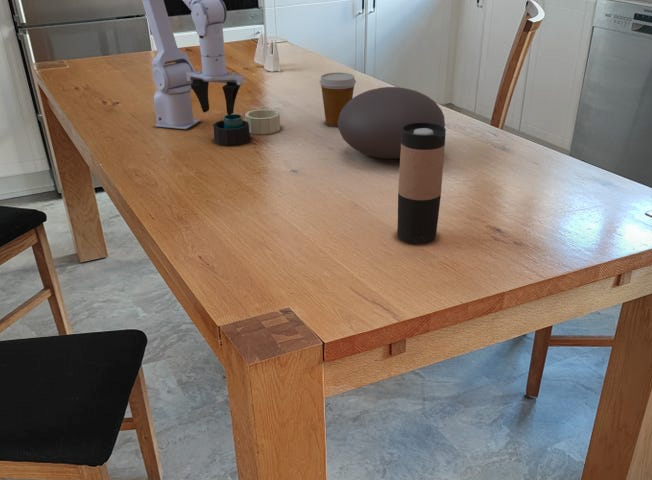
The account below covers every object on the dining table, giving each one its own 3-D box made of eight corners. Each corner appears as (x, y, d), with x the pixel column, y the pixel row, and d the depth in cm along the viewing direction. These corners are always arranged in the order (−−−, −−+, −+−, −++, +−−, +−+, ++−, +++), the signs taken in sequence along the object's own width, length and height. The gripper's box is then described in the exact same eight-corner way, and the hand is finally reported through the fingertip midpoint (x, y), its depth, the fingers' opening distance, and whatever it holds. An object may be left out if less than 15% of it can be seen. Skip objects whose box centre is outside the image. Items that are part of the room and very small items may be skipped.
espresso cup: (222, 142, 181) (220, 118, 177) (230, 137, 184) (228, 113, 181) (239, 144, 180) (237, 120, 176) (247, 138, 183) (245, 114, 180)
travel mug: (392, 229, 137) (397, 122, 126) (432, 227, 137) (440, 121, 126) (399, 246, 131) (405, 136, 119) (441, 244, 131) (451, 134, 120)
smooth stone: (384, 131, 186) (386, 71, 178) (463, 153, 172) (469, 88, 163) (316, 154, 172) (315, 90, 164) (396, 180, 158) (399, 111, 149)
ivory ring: (240, 132, 188) (239, 117, 185) (254, 123, 194) (253, 107, 192) (271, 135, 185) (271, 120, 183) (284, 126, 192) (284, 110, 189)
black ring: (208, 143, 180) (207, 127, 178) (224, 133, 187) (223, 117, 185) (240, 147, 178) (239, 131, 175) (255, 136, 184) (254, 121, 182)
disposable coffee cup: (352, 129, 189) (352, 81, 182) (316, 127, 190) (315, 80, 183) (357, 118, 196) (358, 72, 189) (323, 117, 198) (323, 71, 191)
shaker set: (253, 66, 249) (251, 31, 243) (264, 64, 251) (262, 30, 244) (271, 73, 241) (269, 37, 234) (281, 71, 242) (280, 35, 236)
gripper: (177, 56, 171) (184, 114, 178) (233, 60, 166) (237, 119, 174) (191, 50, 176) (198, 106, 184) (245, 53, 172) (249, 111, 180)
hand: (218, 112), depth 179 cm, fingers open, 6 cm apart
